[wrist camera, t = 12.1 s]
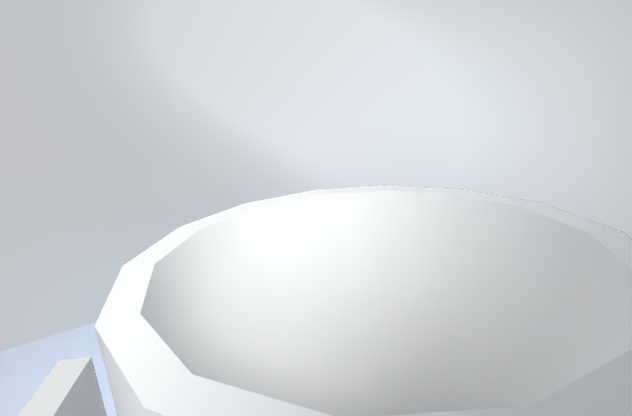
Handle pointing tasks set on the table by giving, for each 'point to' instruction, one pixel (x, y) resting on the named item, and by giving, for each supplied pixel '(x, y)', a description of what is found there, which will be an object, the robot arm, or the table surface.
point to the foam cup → (375, 310)
